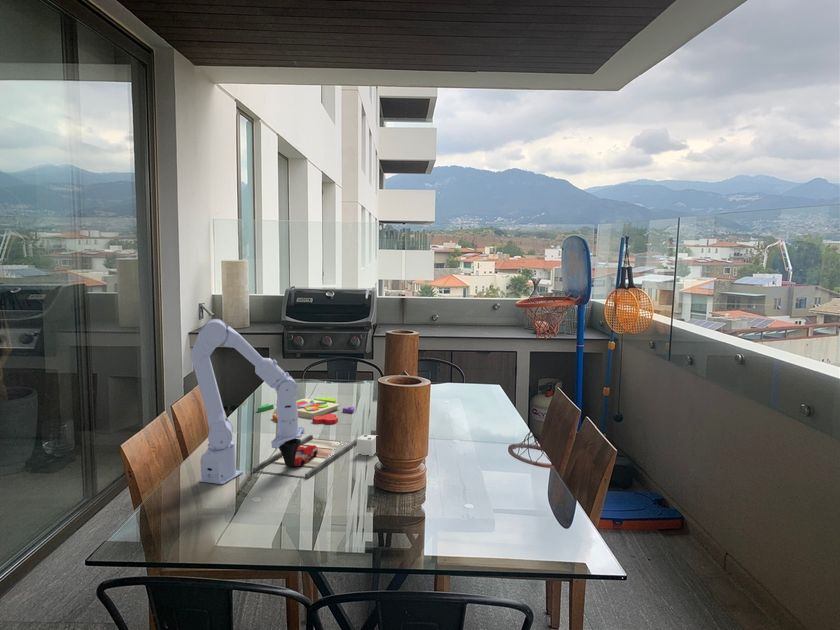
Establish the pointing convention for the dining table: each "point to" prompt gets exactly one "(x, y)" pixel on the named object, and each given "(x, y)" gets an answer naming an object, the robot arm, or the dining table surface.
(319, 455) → the board
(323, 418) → the pattern blocks set
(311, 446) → the race car
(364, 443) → the die
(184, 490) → the dining table surface
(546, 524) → the dining table surface
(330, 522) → the dining table surface
